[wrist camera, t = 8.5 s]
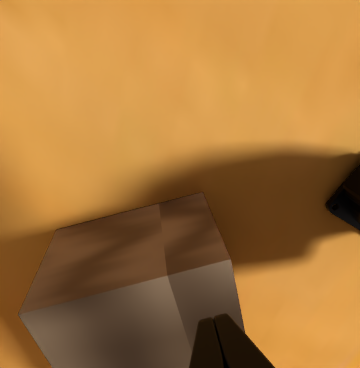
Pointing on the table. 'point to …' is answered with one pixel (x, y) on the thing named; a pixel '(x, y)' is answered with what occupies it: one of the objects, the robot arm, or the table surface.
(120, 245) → the socket block
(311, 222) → the table surface
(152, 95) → the table surface
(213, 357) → the robot arm
